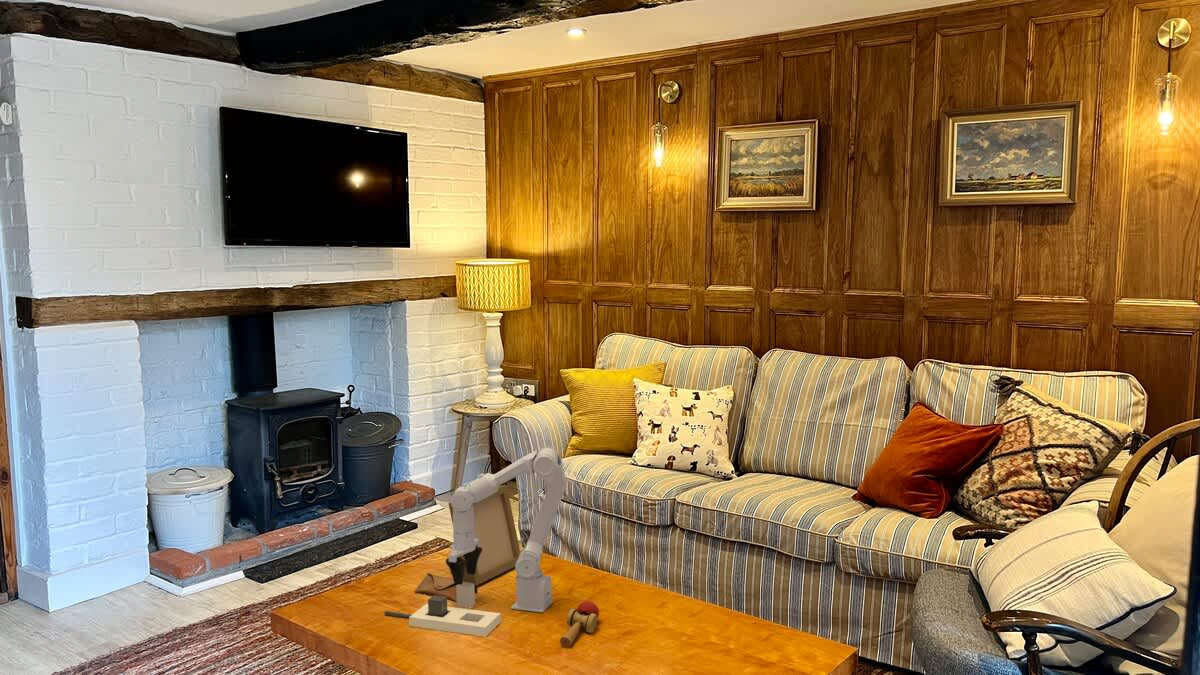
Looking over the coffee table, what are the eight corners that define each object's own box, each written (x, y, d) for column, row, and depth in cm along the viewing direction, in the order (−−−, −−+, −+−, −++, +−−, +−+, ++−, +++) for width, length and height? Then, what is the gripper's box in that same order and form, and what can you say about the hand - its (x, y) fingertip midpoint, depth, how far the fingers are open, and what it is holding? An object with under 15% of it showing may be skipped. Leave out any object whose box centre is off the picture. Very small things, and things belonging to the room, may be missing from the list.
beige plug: (474, 604, 244) (474, 583, 243) (469, 608, 241) (469, 587, 241) (461, 602, 245) (461, 581, 245) (456, 606, 242) (456, 585, 242)
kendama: (583, 655, 216) (607, 616, 232) (577, 632, 215) (602, 594, 231) (555, 655, 219) (581, 617, 235) (549, 632, 218) (575, 596, 234)
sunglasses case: (409, 592, 253) (416, 569, 255) (423, 597, 258) (430, 574, 261) (460, 603, 244) (467, 579, 247) (473, 608, 250) (480, 584, 253)
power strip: (500, 622, 232) (500, 598, 231) (485, 636, 223) (485, 612, 223) (394, 608, 242) (393, 585, 241) (376, 621, 233) (375, 597, 233)
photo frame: (522, 565, 273) (520, 487, 271) (476, 588, 255) (473, 504, 252) (486, 557, 281) (483, 480, 279) (438, 579, 263) (435, 497, 261)
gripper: (462, 521, 249) (463, 568, 251) (437, 537, 235) (439, 586, 237) (485, 523, 247) (486, 570, 248) (461, 540, 233) (462, 589, 235)
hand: (464, 578), depth 242 cm, fingers open, 7 cm apart
